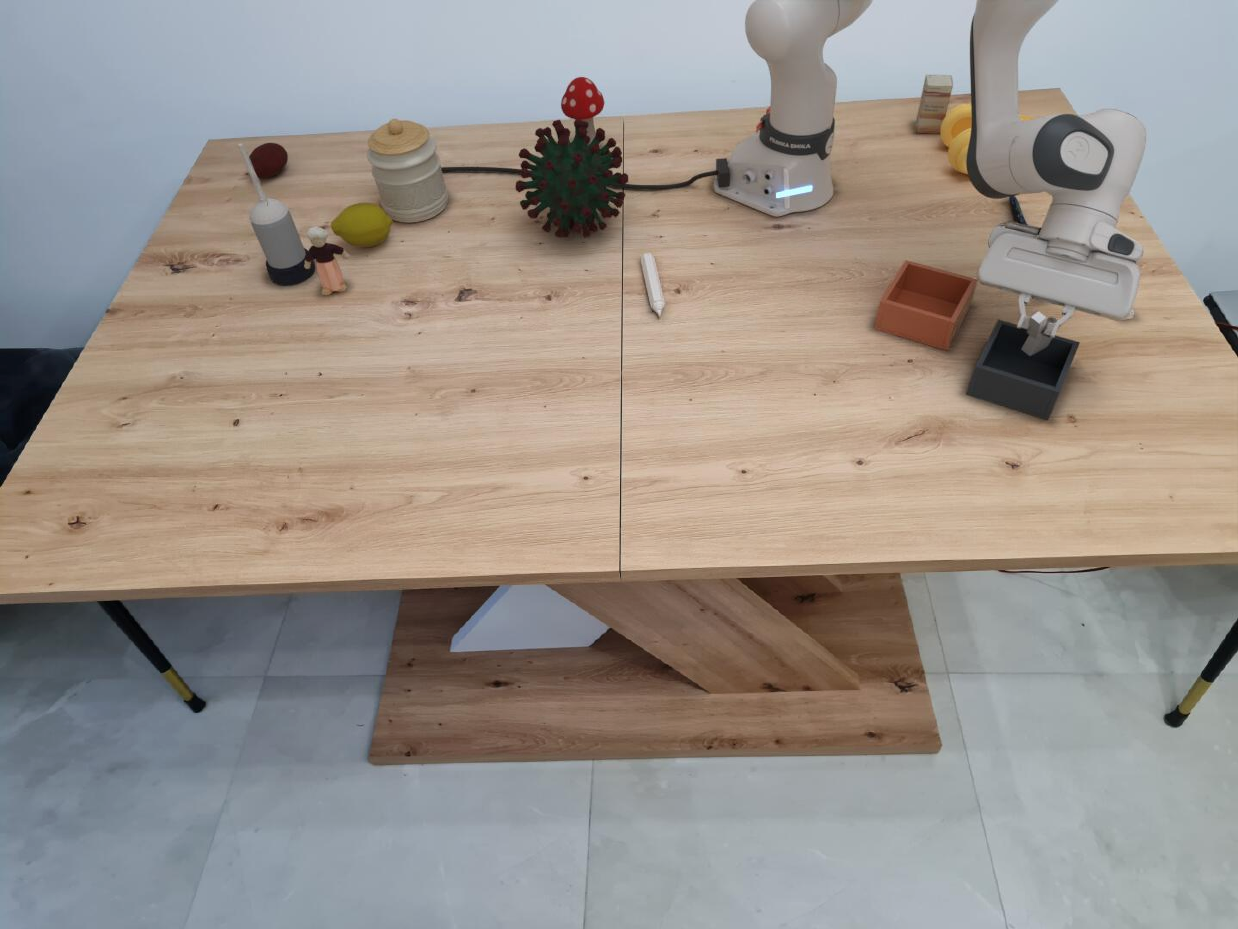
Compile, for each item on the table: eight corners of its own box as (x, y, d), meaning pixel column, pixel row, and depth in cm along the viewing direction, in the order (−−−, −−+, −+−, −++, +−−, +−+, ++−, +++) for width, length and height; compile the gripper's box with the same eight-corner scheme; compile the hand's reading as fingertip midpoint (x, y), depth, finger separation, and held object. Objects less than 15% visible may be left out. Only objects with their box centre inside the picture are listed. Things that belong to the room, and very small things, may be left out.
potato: (299, 167, 188) (290, 140, 184) (268, 188, 184) (257, 161, 179) (275, 159, 191) (264, 132, 187) (243, 179, 187) (232, 153, 182)
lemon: (400, 228, 171) (389, 191, 165) (395, 253, 166) (383, 215, 160) (343, 233, 171) (330, 196, 165) (337, 258, 166) (323, 221, 160)
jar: (370, 218, 174) (343, 132, 161) (405, 182, 182) (382, 98, 168) (428, 229, 170) (405, 142, 157) (461, 192, 178) (442, 106, 164)
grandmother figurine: (319, 301, 158) (294, 240, 148) (313, 290, 160) (289, 229, 150) (361, 286, 160) (339, 225, 150) (355, 275, 162) (333, 214, 152)
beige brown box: (916, 133, 180) (925, 84, 173) (915, 122, 183) (924, 73, 176) (943, 134, 180) (953, 85, 172) (941, 123, 182) (952, 74, 175)
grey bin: (966, 394, 132) (974, 366, 128) (989, 347, 138) (998, 318, 134) (1048, 420, 128) (1059, 392, 124) (1068, 370, 134) (1080, 342, 130)
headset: (1068, 181, 166) (1082, 135, 159) (949, 188, 168) (958, 142, 161) (1042, 133, 177) (1055, 87, 171) (932, 140, 180) (939, 95, 173)
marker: (659, 324, 148) (646, 266, 159) (670, 318, 148) (656, 259, 158) (651, 315, 147) (638, 256, 157) (662, 308, 146) (648, 250, 156)
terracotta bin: (874, 328, 143) (879, 300, 139) (899, 287, 149) (905, 259, 145) (946, 350, 139) (954, 322, 134) (970, 307, 145) (978, 279, 141)
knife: (1048, 300, 143) (1056, 275, 140) (1028, 299, 143) (1036, 274, 140) (1020, 209, 165) (1027, 186, 162) (1003, 208, 165) (1009, 185, 162)
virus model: (531, 269, 159) (514, 167, 144) (516, 208, 173) (499, 108, 158) (642, 249, 161) (636, 146, 146) (619, 190, 174) (611, 89, 159)
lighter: (1038, 339, 132) (1063, 296, 125) (1047, 346, 131) (1073, 303, 125) (1007, 356, 129) (1031, 313, 123) (1016, 363, 128) (1042, 320, 122)
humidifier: (300, 252, 168) (250, 126, 149) (323, 270, 164) (275, 142, 145) (262, 273, 164) (205, 146, 146) (285, 291, 160) (230, 164, 141)
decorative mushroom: (607, 162, 181) (601, 90, 170) (565, 165, 182) (556, 93, 170) (608, 137, 188) (603, 66, 177) (567, 139, 188) (559, 68, 177)
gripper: (996, 211, 124) (959, 308, 126) (1157, 250, 116) (1114, 352, 118) (997, 222, 130) (962, 314, 132) (1151, 259, 122) (1110, 357, 124)
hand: (1035, 333), depth 125 cm, fingers closed on lighter, 2 cm apart
